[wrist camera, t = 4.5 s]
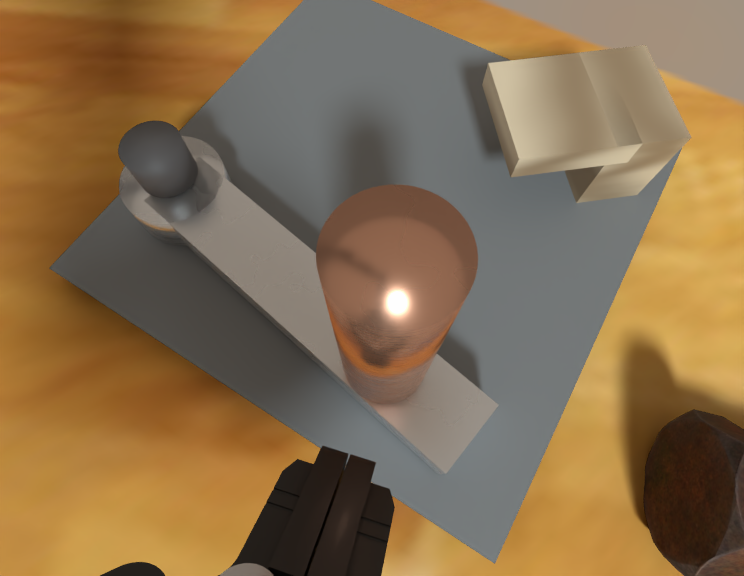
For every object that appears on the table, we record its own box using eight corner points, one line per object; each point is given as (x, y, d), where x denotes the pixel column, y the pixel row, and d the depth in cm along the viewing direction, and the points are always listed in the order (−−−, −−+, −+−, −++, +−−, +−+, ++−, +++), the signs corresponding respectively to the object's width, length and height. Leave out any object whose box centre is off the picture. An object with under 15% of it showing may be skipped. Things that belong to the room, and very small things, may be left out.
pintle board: (487, 557, 18) (534, 592, 13) (65, 278, 22) (-29, 217, 17) (673, 151, 25) (753, 65, 20) (325, -2, 29) (314, -106, 24)
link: (121, 206, 22) (-101, -32, 12) (194, 148, 23) (52, -113, 13) (426, 489, 17) (504, 508, 7) (496, 398, 19) (648, 304, 8)
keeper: (493, 214, 22) (519, 159, 18) (469, 128, 24) (488, 62, 20) (636, 195, 22) (691, 137, 19) (602, 112, 24) (645, 45, 20)
